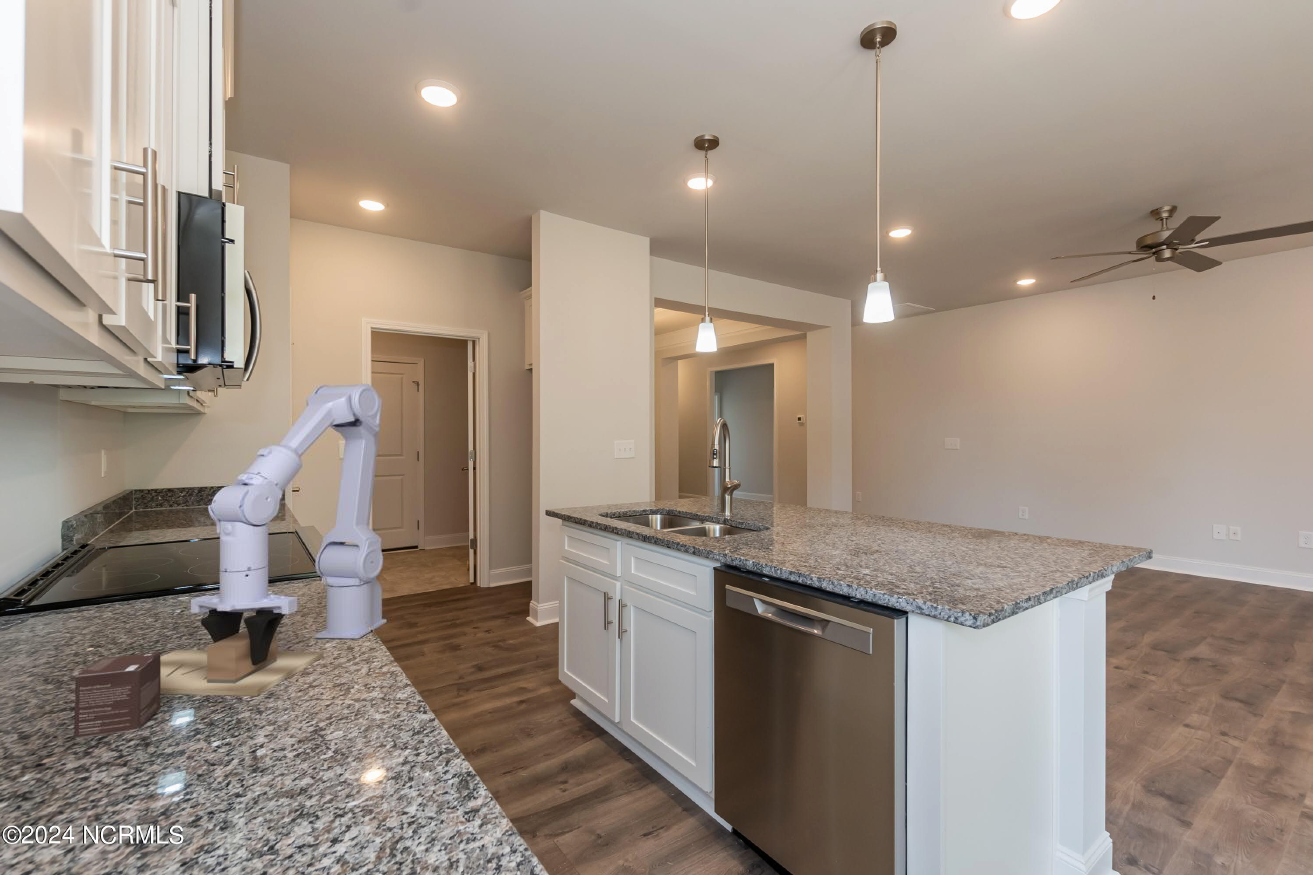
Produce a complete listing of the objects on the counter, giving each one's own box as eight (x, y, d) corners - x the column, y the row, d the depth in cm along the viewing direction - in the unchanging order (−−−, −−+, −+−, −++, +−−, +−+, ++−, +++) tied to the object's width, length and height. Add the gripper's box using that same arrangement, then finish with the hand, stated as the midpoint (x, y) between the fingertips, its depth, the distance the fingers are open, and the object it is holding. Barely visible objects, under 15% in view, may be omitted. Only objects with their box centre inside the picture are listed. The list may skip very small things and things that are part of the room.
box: (101, 716, 71) (102, 657, 71) (162, 708, 73) (162, 651, 73) (72, 740, 66) (72, 675, 66) (138, 731, 68) (139, 668, 68)
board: (178, 654, 92) (178, 649, 92) (323, 656, 91) (323, 651, 91) (87, 692, 78) (87, 686, 78) (257, 695, 77) (257, 689, 77)
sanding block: (251, 660, 87) (251, 627, 87) (276, 661, 87) (276, 627, 87) (207, 682, 79) (207, 646, 79) (234, 683, 79) (235, 646, 79)
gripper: (171, 573, 80) (171, 672, 80) (272, 574, 79) (272, 673, 79) (213, 563, 87) (213, 653, 87) (306, 563, 86) (306, 655, 86)
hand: (244, 662), depth 83 cm, fingers closed on sanding block, 4 cm apart
